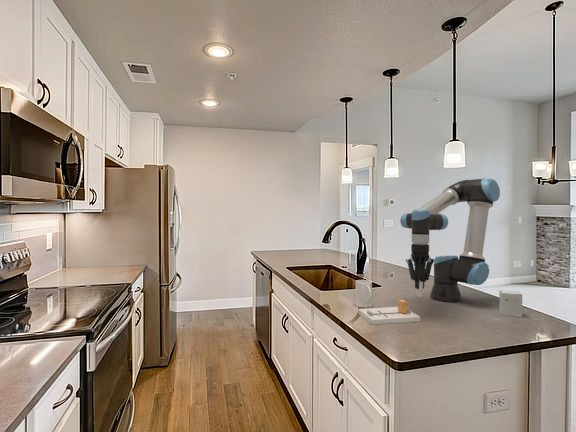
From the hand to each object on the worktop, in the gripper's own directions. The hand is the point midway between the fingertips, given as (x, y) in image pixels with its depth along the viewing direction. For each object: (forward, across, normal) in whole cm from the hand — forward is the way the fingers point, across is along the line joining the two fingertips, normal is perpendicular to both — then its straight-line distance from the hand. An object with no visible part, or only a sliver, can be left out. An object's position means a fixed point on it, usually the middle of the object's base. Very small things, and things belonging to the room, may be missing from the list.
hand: (419, 295), depth 159 cm
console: (+10, +14, -1) cm, 17 cm away
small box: (+9, -42, +6) cm, 43 cm away
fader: (+7, +8, 0) cm, 11 cm away
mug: (+10, +18, -20) cm, 28 cm away
